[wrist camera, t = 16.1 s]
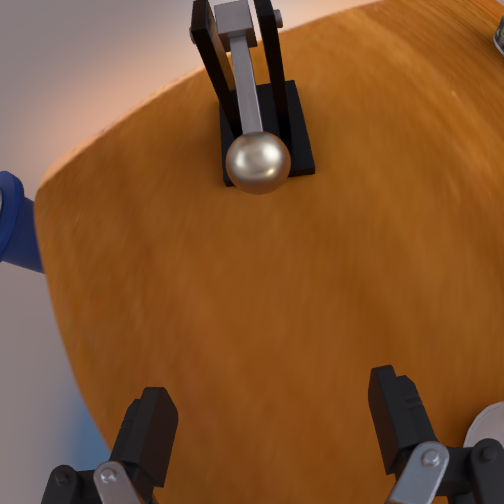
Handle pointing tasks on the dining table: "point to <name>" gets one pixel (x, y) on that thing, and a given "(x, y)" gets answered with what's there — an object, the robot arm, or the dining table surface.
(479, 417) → the spotlight
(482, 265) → the dining table surface
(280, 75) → the switch bracket
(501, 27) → the coffee can
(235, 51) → the switch lever
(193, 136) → the dining table surface
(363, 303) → the dining table surface
